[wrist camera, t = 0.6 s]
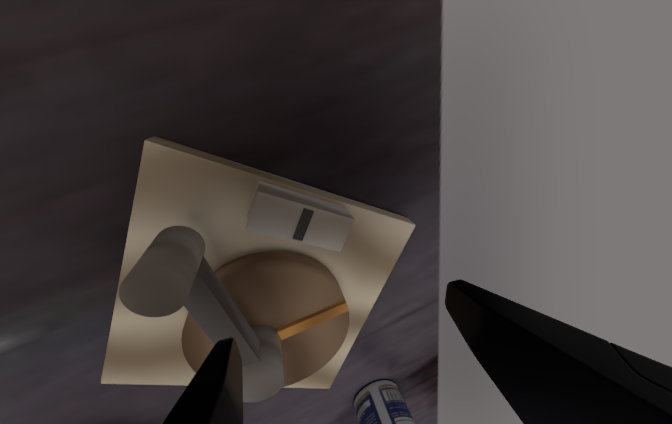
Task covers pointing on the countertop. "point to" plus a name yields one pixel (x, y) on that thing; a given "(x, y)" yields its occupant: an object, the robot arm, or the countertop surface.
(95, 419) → the countertop surface
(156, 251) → the crank handle
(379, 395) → the pill bottle
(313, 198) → the stand
